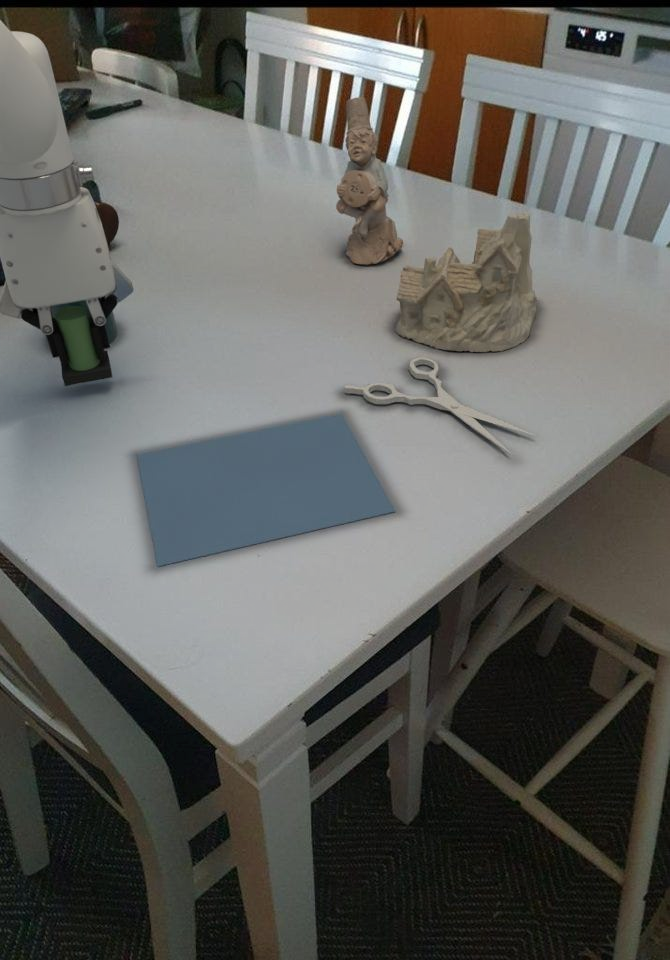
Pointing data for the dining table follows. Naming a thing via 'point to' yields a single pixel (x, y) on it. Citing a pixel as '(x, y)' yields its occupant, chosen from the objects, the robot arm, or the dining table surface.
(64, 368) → the stamp
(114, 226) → the compass
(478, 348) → the ceramic cottage
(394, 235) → the figurine
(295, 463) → the napkin
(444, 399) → the scissors
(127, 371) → the dining table surface
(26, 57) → the robot arm
